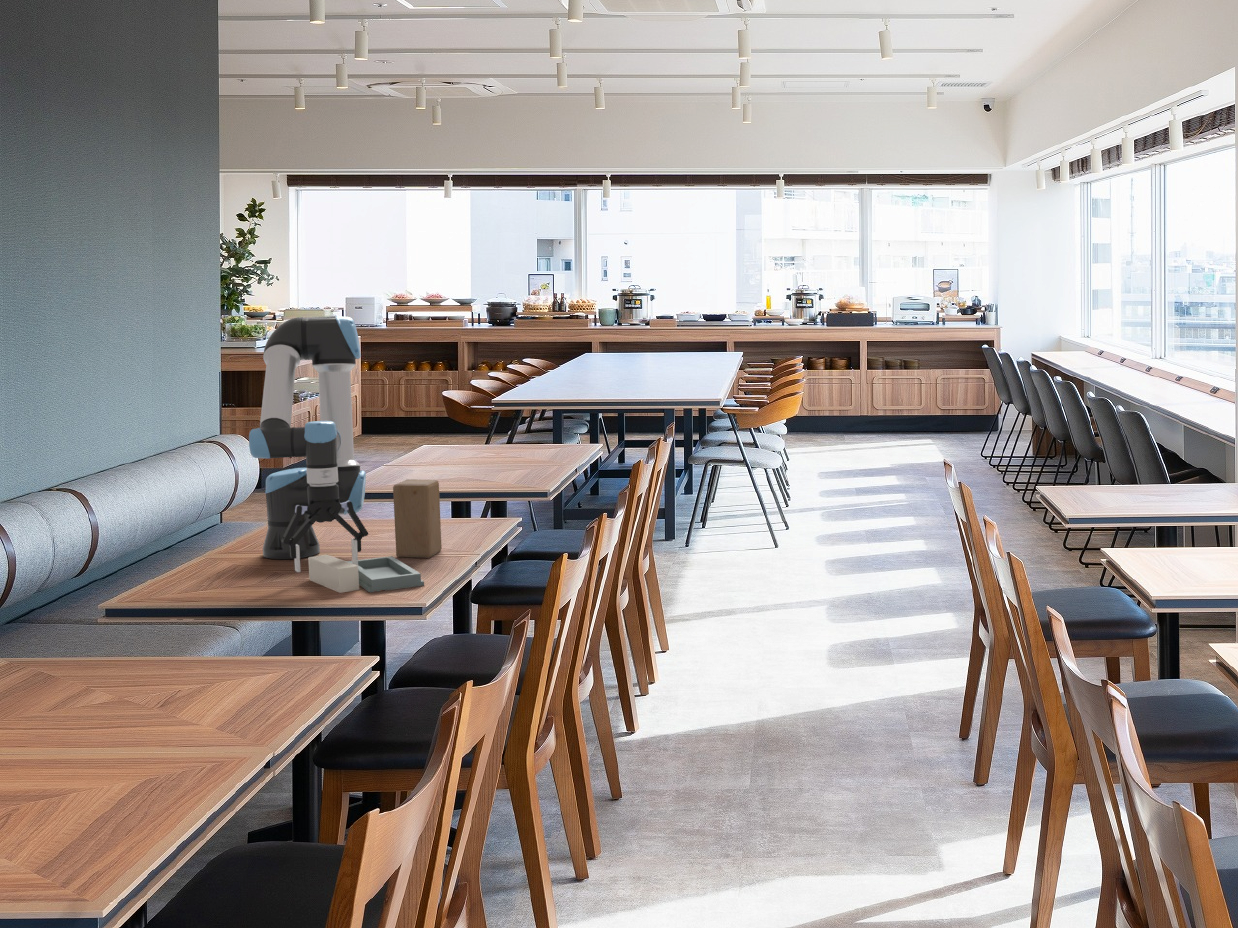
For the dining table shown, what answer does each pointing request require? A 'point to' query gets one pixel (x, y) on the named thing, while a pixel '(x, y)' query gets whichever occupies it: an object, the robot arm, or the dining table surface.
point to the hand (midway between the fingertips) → (326, 569)
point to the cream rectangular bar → (333, 573)
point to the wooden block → (417, 518)
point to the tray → (386, 574)
